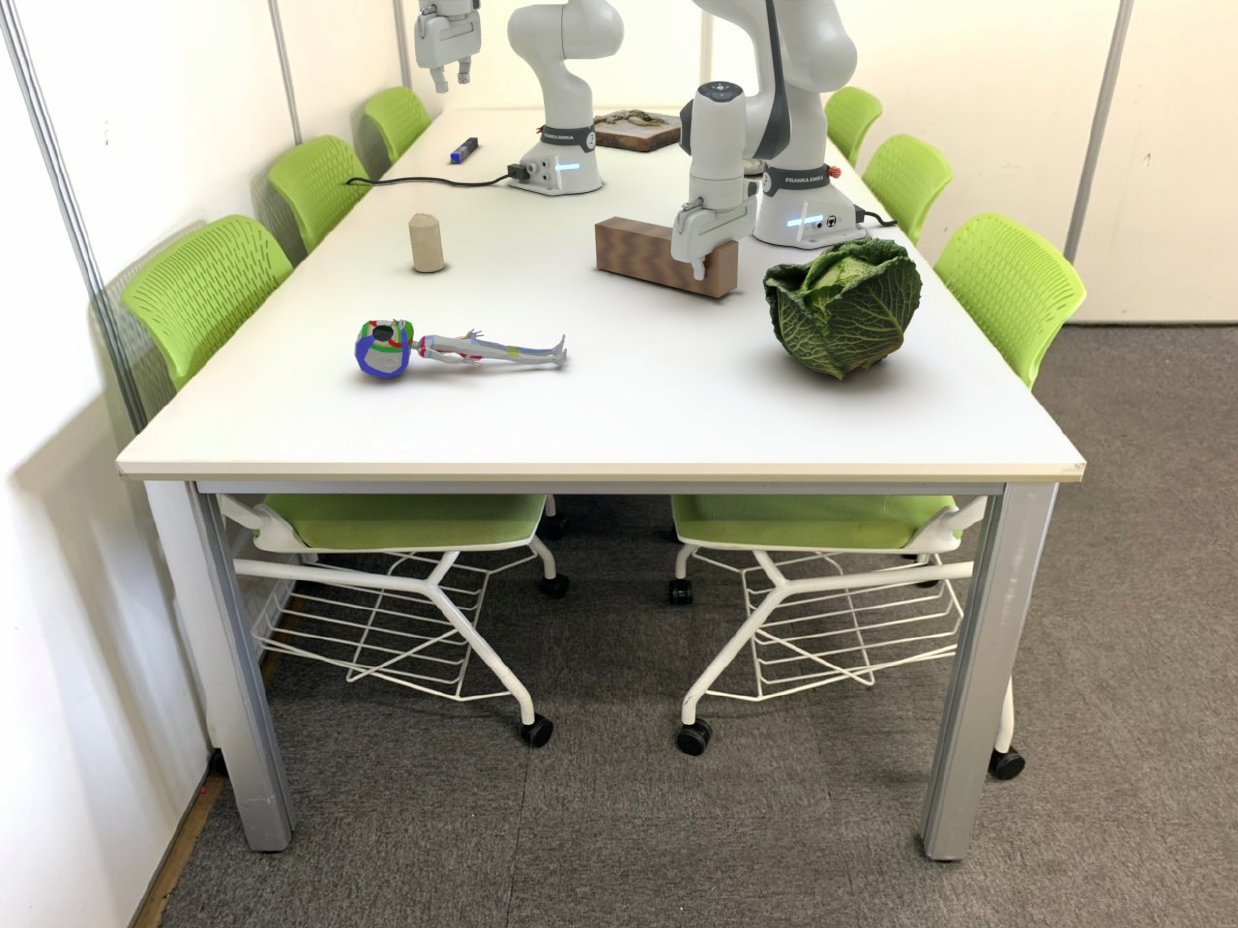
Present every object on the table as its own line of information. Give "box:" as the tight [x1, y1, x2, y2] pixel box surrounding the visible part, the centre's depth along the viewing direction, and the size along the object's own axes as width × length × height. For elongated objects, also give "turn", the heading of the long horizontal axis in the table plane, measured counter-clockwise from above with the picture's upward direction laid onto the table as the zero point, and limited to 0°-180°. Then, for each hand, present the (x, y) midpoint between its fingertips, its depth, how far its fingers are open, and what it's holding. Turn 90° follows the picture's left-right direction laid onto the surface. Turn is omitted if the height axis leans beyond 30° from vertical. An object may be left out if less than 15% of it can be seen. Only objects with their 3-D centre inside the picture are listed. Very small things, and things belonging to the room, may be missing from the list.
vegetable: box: [762, 236, 924, 381], centre depth 127 cm, size 20×19×20 cm
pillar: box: [449, 137, 479, 164], centre depth 242 cm, size 2×2×20 cm
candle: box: [407, 212, 445, 273], centre depth 166 cm, size 6×6×10 cm
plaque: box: [593, 108, 681, 152], centre depth 257 cm, size 30×7×30 cm
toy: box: [353, 318, 568, 379], centre depth 130 cm, size 10×8×30 cm
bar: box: [594, 216, 740, 299], centre depth 158 cm, size 27×6×8 cm, turn 51°
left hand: (453, 88), depth 162 cm, fingers open, 8 cm apart
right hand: (712, 272), depth 153 cm, fingers closed on bar, 6 cm apart
